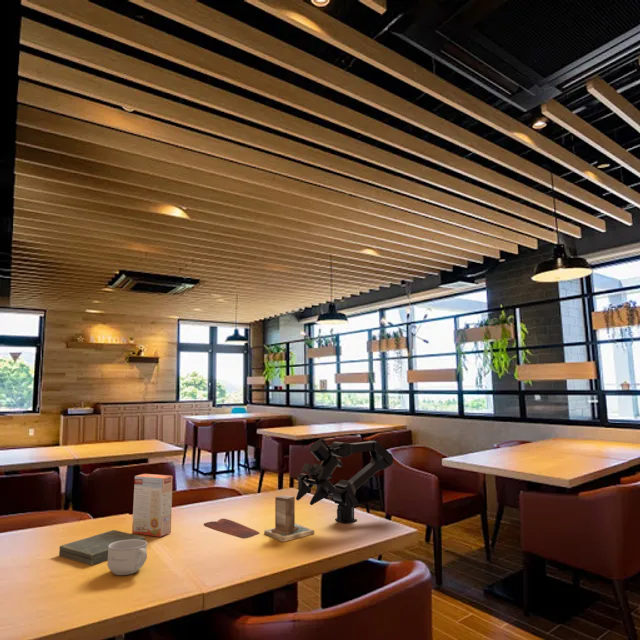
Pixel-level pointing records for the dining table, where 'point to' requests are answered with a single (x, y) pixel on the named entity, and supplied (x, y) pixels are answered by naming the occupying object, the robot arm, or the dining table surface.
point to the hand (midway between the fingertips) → (303, 502)
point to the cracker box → (152, 505)
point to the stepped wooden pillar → (284, 515)
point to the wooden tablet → (232, 528)
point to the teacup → (126, 556)
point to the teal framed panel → (299, 533)
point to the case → (94, 547)
